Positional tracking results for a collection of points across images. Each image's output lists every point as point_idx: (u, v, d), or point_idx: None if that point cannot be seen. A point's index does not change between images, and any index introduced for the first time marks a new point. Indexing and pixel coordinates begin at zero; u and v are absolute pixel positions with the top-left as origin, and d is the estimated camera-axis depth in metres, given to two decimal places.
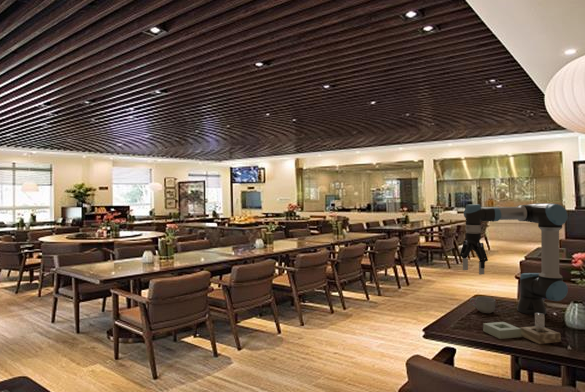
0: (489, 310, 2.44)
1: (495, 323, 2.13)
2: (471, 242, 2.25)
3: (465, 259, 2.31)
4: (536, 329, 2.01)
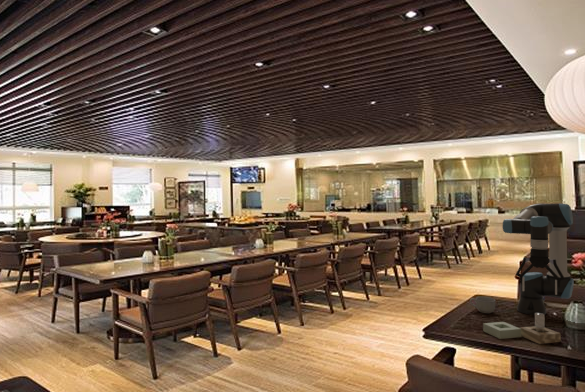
0: (489, 310, 2.44)
1: (495, 323, 2.13)
2: (539, 259, 2.01)
3: (524, 278, 2.05)
4: (536, 329, 2.01)
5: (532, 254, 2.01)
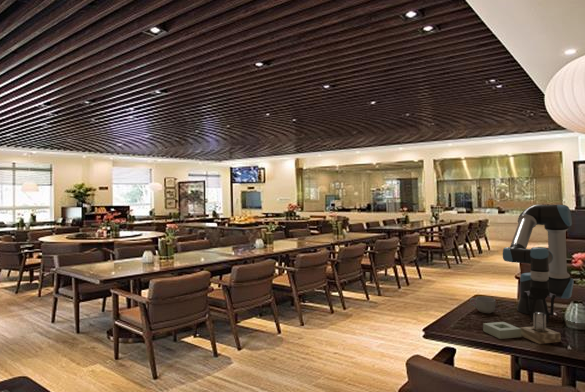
0: (489, 310, 2.44)
1: (495, 323, 2.13)
2: (539, 291, 2.01)
3: None
4: (536, 328, 2.01)
5: (532, 285, 2.01)
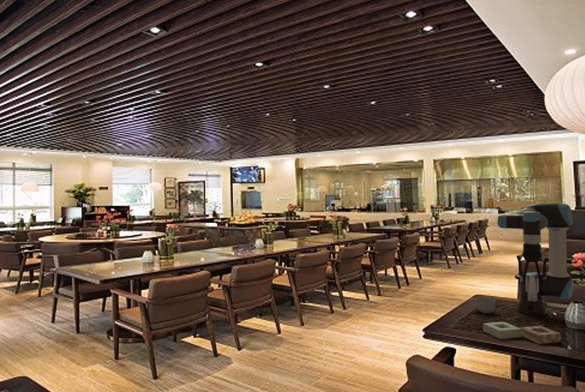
0: (489, 310, 2.44)
1: (495, 323, 2.13)
2: (532, 254, 2.02)
3: None
4: (529, 291, 2.02)
5: (525, 249, 2.02)
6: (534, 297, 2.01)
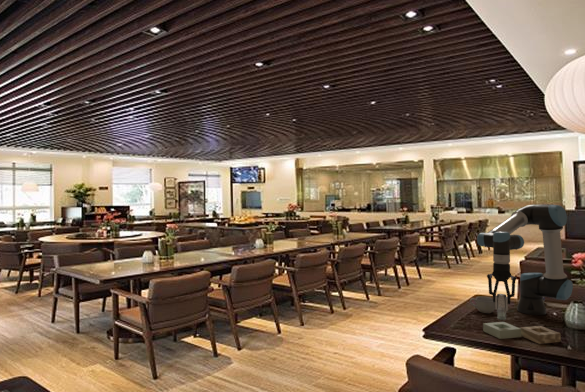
0: (489, 310, 2.44)
1: (495, 323, 2.13)
2: (501, 273, 2.08)
3: None
4: (498, 309, 2.08)
5: (494, 268, 2.08)
6: (503, 316, 2.06)
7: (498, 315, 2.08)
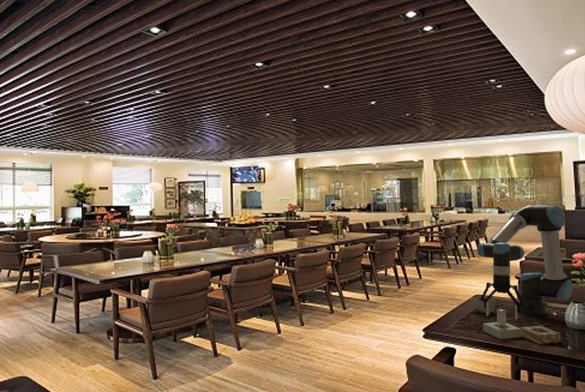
0: (489, 310, 2.44)
1: (495, 323, 2.13)
2: (501, 284, 2.08)
3: (488, 303, 2.12)
4: (498, 325, 2.08)
5: (494, 280, 2.08)
6: None
7: None
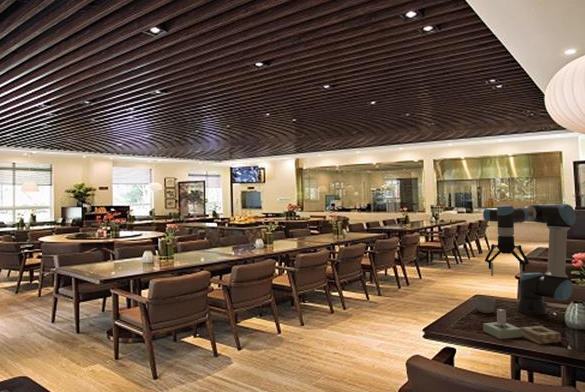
0: (489, 310, 2.44)
1: (495, 323, 2.13)
2: (506, 245, 2.14)
3: (492, 264, 2.19)
4: (498, 325, 2.08)
5: (499, 241, 2.15)
6: None
7: None
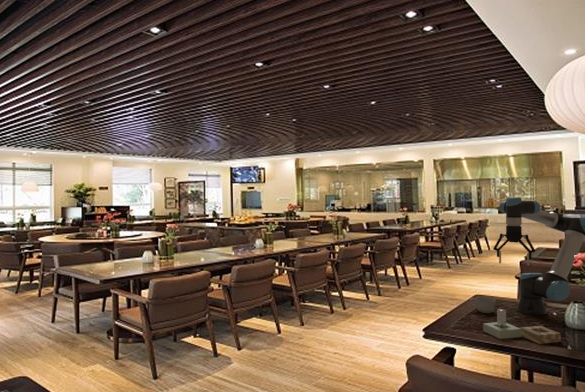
0: (489, 310, 2.44)
1: (495, 323, 2.13)
2: (513, 235, 2.28)
3: (500, 252, 2.32)
4: (498, 325, 2.08)
5: (507, 230, 2.28)
6: None
7: None
